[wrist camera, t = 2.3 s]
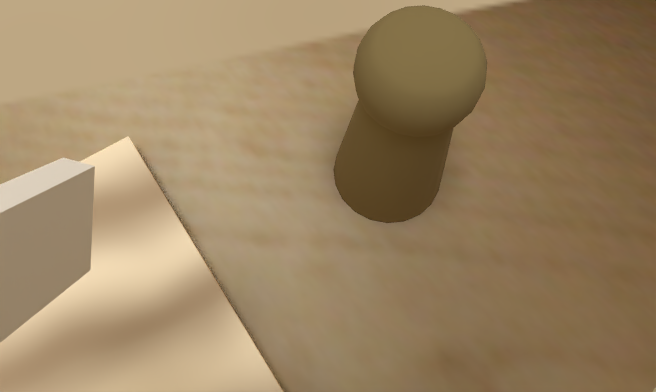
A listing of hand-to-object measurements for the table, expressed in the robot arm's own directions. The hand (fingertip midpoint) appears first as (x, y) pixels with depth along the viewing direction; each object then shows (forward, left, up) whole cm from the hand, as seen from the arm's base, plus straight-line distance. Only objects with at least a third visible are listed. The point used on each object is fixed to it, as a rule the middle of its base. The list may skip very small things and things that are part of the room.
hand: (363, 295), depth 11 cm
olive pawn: (+7, -8, -15) cm, 18 cm away
